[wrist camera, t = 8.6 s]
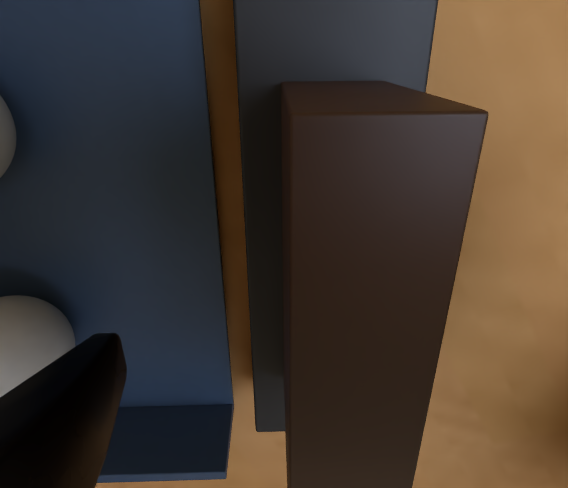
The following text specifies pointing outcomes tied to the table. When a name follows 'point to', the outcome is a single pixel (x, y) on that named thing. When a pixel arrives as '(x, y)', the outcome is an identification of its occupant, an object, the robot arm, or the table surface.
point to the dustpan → (123, 214)
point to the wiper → (348, 228)
